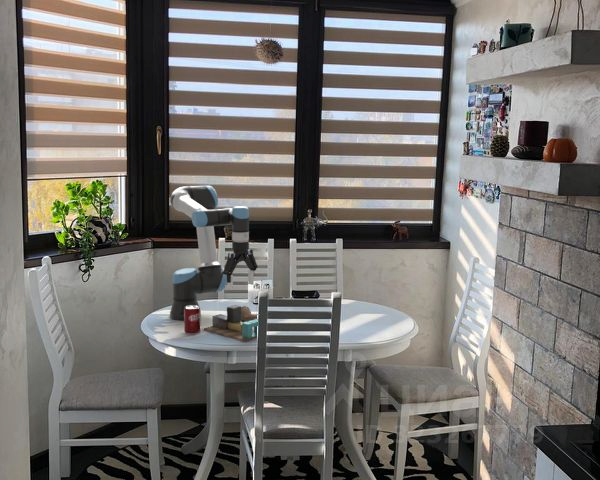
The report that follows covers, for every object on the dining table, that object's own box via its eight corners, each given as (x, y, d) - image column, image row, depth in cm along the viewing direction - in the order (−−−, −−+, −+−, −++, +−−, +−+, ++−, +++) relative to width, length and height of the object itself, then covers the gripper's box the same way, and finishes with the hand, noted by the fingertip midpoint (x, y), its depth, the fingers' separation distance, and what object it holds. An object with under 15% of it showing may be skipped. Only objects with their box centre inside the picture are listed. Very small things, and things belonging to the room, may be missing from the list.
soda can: (181, 332, 342) (180, 307, 340) (193, 329, 347) (192, 304, 345) (191, 335, 337) (191, 309, 335) (203, 332, 342) (203, 306, 341)
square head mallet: (212, 324, 348) (212, 303, 347) (220, 322, 352) (220, 301, 350) (239, 332, 336) (239, 310, 335) (247, 329, 340) (247, 307, 339)
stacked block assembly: (208, 327, 347) (208, 313, 345) (224, 323, 354) (224, 309, 353) (248, 338, 330) (247, 324, 329) (263, 333, 337) (263, 319, 336)
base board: (203, 330, 346) (203, 328, 346) (226, 324, 356) (226, 322, 356) (244, 341, 328) (244, 339, 328) (266, 335, 339) (266, 332, 338)
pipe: (270, 314, 357) (272, 305, 366) (236, 313, 357) (238, 305, 367) (270, 326, 359) (272, 317, 368) (236, 325, 359) (238, 317, 369)
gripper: (226, 245, 325) (227, 293, 328) (265, 238, 344) (265, 283, 347) (214, 243, 329) (215, 290, 333) (253, 236, 348) (253, 280, 352)
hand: (240, 286), depth 340 cm, fingers open, 13 cm apart
